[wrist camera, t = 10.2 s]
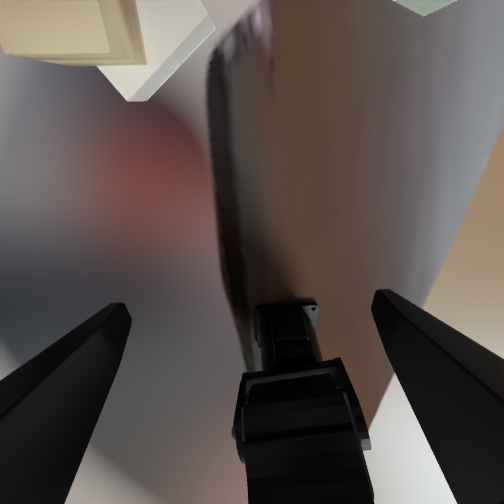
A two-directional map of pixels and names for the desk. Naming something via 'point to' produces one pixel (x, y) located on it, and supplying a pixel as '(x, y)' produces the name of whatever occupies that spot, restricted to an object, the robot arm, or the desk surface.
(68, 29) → the birch brick
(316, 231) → the desk surface
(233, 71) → the desk surface
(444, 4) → the sage brick
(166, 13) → the white brick
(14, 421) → the robot arm
